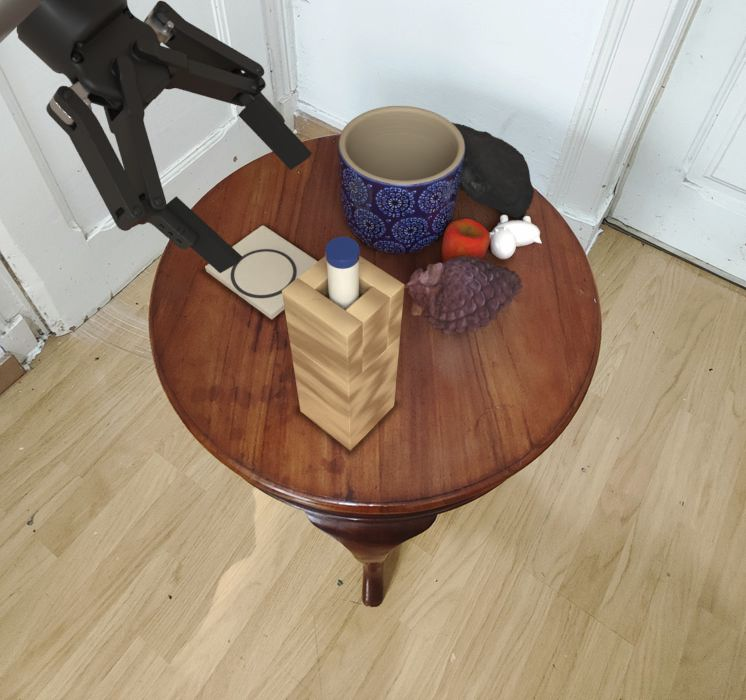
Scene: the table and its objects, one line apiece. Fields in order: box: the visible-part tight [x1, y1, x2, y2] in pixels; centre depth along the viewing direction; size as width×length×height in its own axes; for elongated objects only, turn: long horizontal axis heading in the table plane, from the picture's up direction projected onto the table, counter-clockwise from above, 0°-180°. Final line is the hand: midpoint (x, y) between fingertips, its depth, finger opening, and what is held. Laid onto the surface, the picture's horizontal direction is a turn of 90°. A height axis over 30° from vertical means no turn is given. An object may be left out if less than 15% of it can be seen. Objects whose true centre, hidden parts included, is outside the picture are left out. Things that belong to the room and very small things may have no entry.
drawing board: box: [204, 224, 319, 320], centre depth 88 cm, size 11×13×1 cm
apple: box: [441, 218, 491, 263], centre depth 86 cm, size 6×6×8 cm
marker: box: [324, 236, 360, 311], centre depth 59 cm, size 3×3×13 cm
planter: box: [337, 105, 465, 255], centre depth 88 cm, size 16×17×15 cm
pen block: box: [282, 255, 405, 451], centre depth 67 cm, size 8×8×22 cm
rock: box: [451, 121, 535, 221], centre depth 92 cm, size 15×14×7 cm
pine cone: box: [404, 256, 523, 336], centre depth 81 cm, size 18×10×10 cm
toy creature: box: [489, 214, 543, 260], centre depth 90 cm, size 5×8×6 cm
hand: (269, 210), depth 54 cm, fingers open, 13 cm apart
